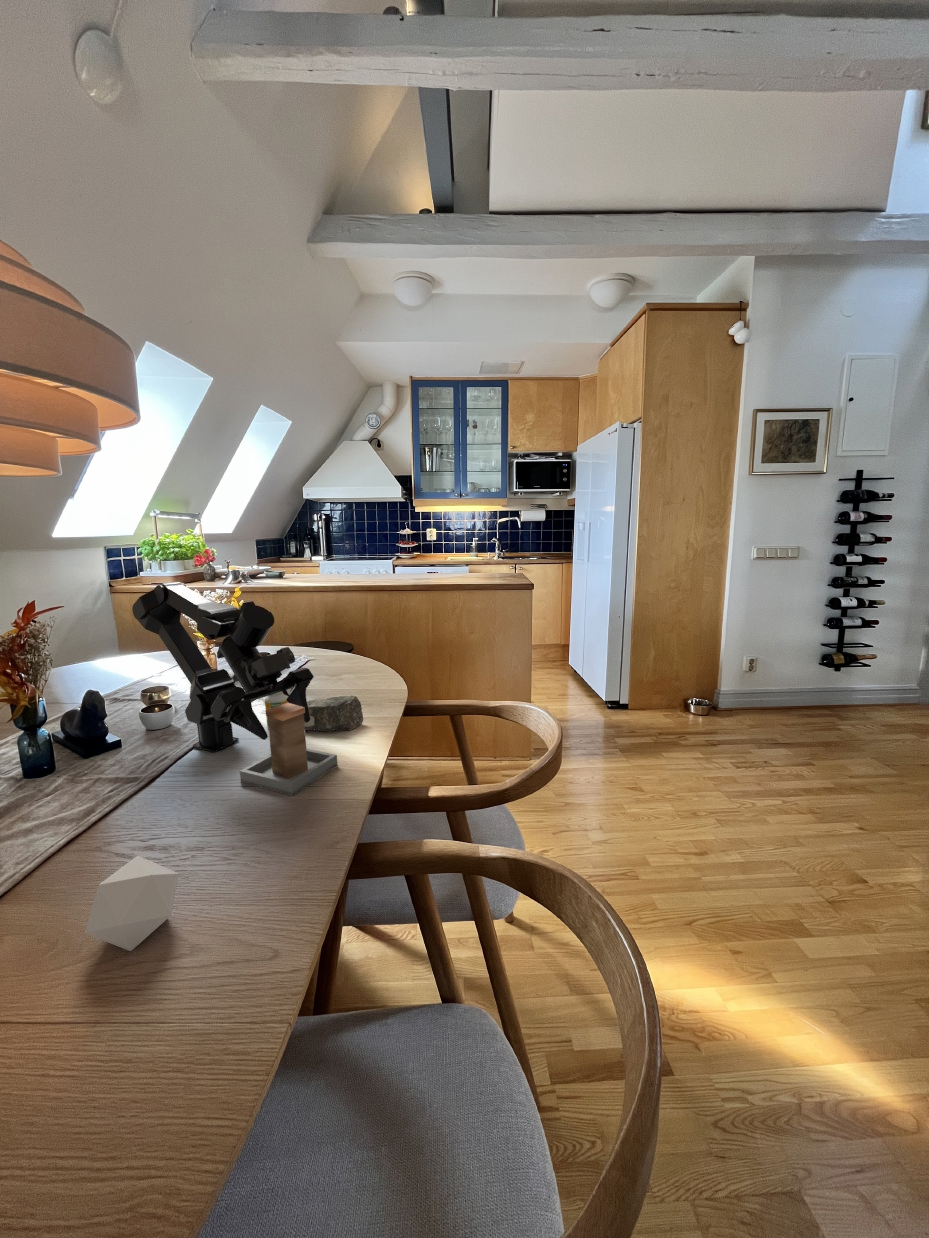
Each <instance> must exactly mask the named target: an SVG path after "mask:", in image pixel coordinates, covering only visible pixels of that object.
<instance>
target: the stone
mask: <svg viewBox="0 0 929 1238" xmlns="http://www.w3.org/2000/svg"><path fill="white" fill-rule="evenodd" d="M307 705H308V710H309V715H310V721H309V722H308V723H306V722H305V721H304V725H305V731H321V732H326V731H327V732H328V731H341V730H343V731H344V730H345V731H346V730H347V731H349V730H350V731H351V730H354V729H355V728H357V727H359V726H360V725H362V724H363V723H364V716H363V715H364V714H363V711H362V710H363V707H362V703H361V700H359V698H358V696H356V695H342V696H341V695H340V696H333V697H328V698H325V699H324V698H318V699H310V700H307Z"/></svg>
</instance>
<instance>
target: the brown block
mask: <svg viewBox="0 0 929 1238" xmlns="http://www.w3.org/2000/svg"><path fill="white" fill-rule="evenodd" d="M264 713H265V716H268V726H269V728H268V733H269V734H268V736H269V747H270V754H271V759H272V771H273V773H275V774H277V775H280V776H282V777H285V778H287V779H289V778H291V777H293V776H295V775H297V774H299V773H301V772H303V771H305V770H307V769H308V764H307V751H306V749H307V740H306V730H305V725H304V713H305V707H302V706H298V705H295V704H291V703H285V704H283V705H280V706H277V707H274V708H271V709H268V710H266V709H265V712H264ZM268 726H267V727H268Z"/></svg>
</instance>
